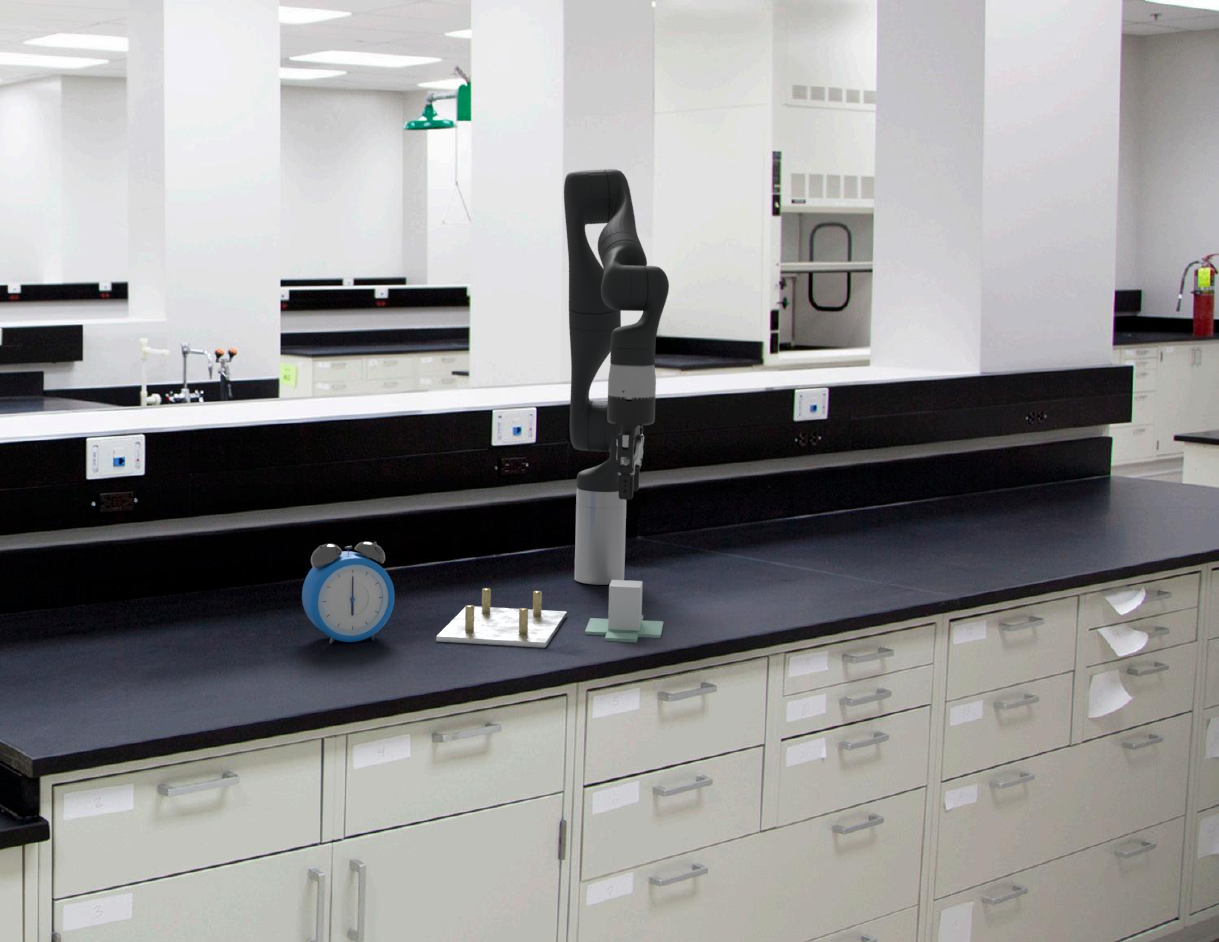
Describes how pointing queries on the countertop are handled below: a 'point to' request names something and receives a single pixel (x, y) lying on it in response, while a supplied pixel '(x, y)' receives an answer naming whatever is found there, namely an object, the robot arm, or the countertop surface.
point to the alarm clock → (348, 592)
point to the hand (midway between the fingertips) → (628, 495)
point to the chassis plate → (503, 624)
